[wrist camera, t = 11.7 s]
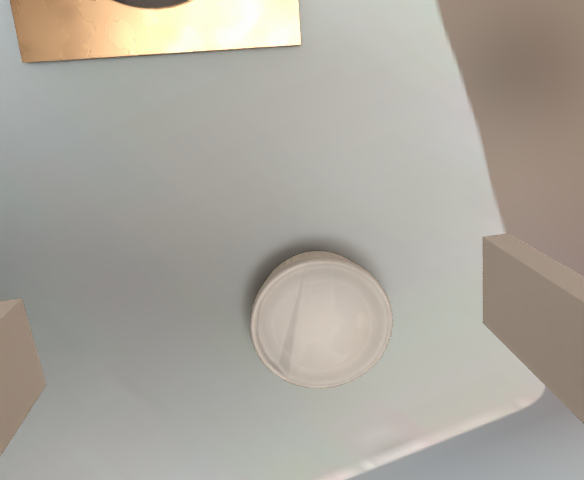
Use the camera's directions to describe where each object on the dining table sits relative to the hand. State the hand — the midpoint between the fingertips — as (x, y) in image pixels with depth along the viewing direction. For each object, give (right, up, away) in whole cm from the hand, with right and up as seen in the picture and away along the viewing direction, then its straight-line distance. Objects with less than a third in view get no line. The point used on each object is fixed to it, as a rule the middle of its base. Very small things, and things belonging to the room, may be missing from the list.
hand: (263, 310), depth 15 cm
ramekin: (+3, -3, +31) cm, 32 cm away
